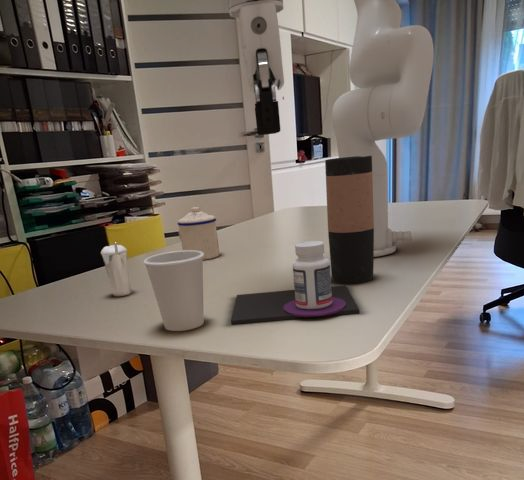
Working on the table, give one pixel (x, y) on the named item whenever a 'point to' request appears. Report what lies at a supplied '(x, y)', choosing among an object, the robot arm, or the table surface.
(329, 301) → the pill bottle
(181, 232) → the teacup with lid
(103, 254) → the milkshake
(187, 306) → the dixie cup
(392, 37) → the robot arm
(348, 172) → the travel mug
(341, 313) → the placemat
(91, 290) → the table surface
